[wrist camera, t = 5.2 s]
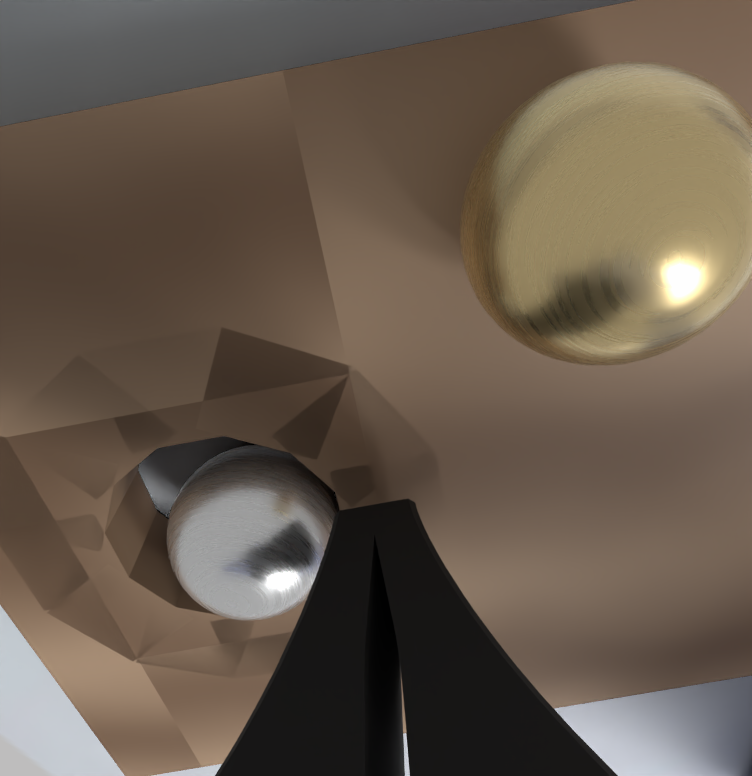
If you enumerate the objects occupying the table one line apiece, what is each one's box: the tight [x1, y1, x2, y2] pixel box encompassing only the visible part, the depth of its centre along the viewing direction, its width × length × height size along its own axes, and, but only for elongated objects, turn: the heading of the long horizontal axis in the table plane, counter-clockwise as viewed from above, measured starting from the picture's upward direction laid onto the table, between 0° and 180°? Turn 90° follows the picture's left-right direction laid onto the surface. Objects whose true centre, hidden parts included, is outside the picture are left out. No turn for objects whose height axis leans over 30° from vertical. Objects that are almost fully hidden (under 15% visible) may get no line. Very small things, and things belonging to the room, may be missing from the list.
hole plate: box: [0, 0, 752, 776], centre depth 12 cm, size 15×18×2 cm
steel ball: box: [167, 445, 339, 620], centre depth 11 cm, size 3×3×3 cm
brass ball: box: [460, 62, 752, 366], centre depth 7 cm, size 3×3×3 cm
